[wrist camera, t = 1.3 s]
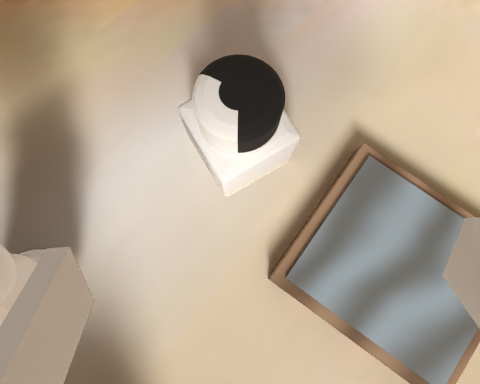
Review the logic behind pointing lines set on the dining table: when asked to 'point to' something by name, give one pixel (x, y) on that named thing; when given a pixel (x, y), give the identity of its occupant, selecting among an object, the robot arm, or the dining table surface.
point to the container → (239, 121)
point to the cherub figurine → (15, 275)
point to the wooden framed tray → (384, 269)
